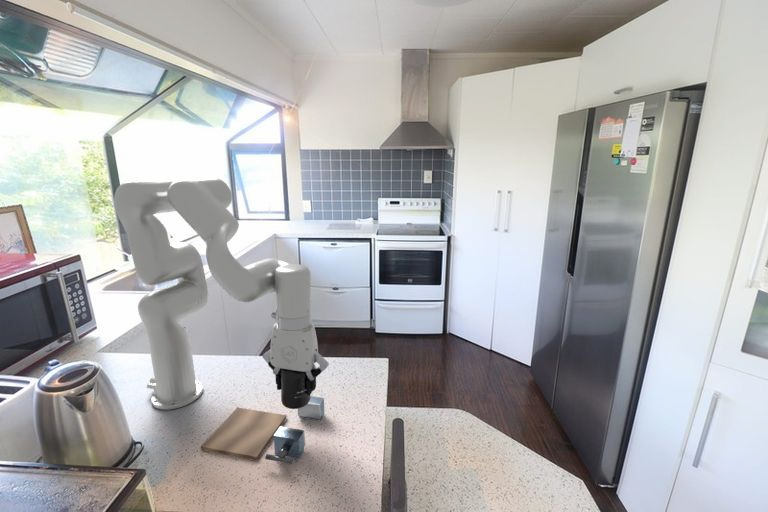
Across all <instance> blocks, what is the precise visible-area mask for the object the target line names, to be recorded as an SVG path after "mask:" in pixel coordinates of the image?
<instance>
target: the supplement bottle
mask: <svg viewBox="0 0 768 512" xmlns="http://www.w3.org/2000/svg"><path fill="white" fill-rule="evenodd" d="M307 379H308V376H307V374H306V372H301V371H294V370H288V369H281V390H280V397H281V399H280V400H281V404H282V406H284V407H285V408H287V409H288V410H289V409H291V410H298V409H299V408H302V407H304V406H306V405H307V404H308V403H309V401H310V398H311V394H312V393H311V394H310V395H307V387H306V381H307Z"/></svg>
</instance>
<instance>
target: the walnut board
mask: <svg viewBox="0 0 768 512" xmlns="http://www.w3.org/2000/svg"><path fill="white" fill-rule="evenodd" d="M286 420H287V415H286V414H280V413H275V412H270V411H269V412H268V411H263V410H256V409H251V408H245V407H236V408H235V409H234V410H233V412H232V413H230V415H229V416H228V417H227V418H226V419H225V420H224V421H223V422H222V423H221V425H219V426H218V427H217V429H216V430H215V431H214V432H213V433H212V434H211V435H210V436H209V438H207V439H206V441H205V442H203V444H202V445H201V446H200V450H201V451H205V452H208V453H209V452H210V453H214V454H220V455H225V456H231V457H234V458H241V459H246V460H252V461H255V462H257V461H258V460H259V458H260V457H261V455H262V454H263V453H264V451H265V450H266V449H267V447H268V446H269V444H270V443H271V441H272V440H273V439H274V434H275V433H276V431H277V430H278V429H279V427H280V426H281V427H283V426H282V425H284V422H285V421H286Z"/></svg>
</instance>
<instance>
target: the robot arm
mask: <svg viewBox="0 0 768 512" xmlns="http://www.w3.org/2000/svg"><path fill="white" fill-rule="evenodd" d="M232 200H233V195H232V191H231V189H230V187H229V186H228V184H227V183H226V182H225V181H224V180H223V179H221V178H219V177H215V176H203V177H202V176H200V177H199V176H198V177H196V176H195V177H191V176H190V177H187V176H184V177H183V176H178V177H177V176H176V177H144V178H143V177H142V178H136V179H130V180H127V181H125V182H122V183H121V184H120V185H119V186H118V187H117V188H116V190H115V193H114V197H113V204H114V209H115V212H116V215H117V217H118V219H119V221H120V223H121V225H122V227H123V230H124V231H125V233H126V236H127V239H128V244H129V248H130V252H131V257H132V260H133V261H132V262H133V265H134V269H135V272H136V276H137V278H138V280H139V281H140V282H141V283H142V284H143V285H145V286H151V287H152V286H158V285H159V286H160V285H162V284H165V283H169V282H172V281H175V280H177V282H176V283H172V284H170V285H167V286H165V287H161V288H159V289H156V290H153V291H149V293H147V294H146V295H144V296H143V297H141V299H140V300H139V302H138V304H137V305H138V306H137V311H138V315H139V318H140V320H141V322H142V325H143V327H144V330H145V334H146V338H147V342H148V348H149V353H150V359H151V365H152V371H153V376H152V377H150V379H149V382H148V383H147V385H146V388H147V389H150V390H151V389H153V392H154V393H153V395H152V396H151V399H150V400H151V404H152V406H153V407H154V408H155V409H157V410H162V411H163V410H166V411H167V410H173V409H174V410H175V409H179V408H183V407H185V406H188V405H190V404H192V403H193V402H194V401H196V400H197V399H198V398H199V397H200V396H201V395H202V393H203V391H204V387H203V386H204V385H203V384H202V382H201V381H199V380H196V375H195V365H194V359H193V352H192V345H191V338H190V333H189V331H188V330H187V328H185V327H184V326H183V325H182V324H181V323H180V321H181V320H183V319H185V318H186V317H188V316H189V317H190V316H191V315H193V314H195V313H197V312H200V311H201V310H203V309H204V308H205V307H207V304H208V303H209V289H208V283H207V278H206V274H205V269H204V263H203V260H202V256H201V255H200V253H199V251H198V250H197V248H196V247H195V246H194V245H193V244H192V243H189V242H186V241H179V242H178V241H176V242H172V243H170V239H169V236H168V231H167V228H166V227H165V225H164V224H163V222H161V220H160V219H158V217H156V216H155V214H161V213H171V212H173V213H174V212H177V213H178V214H179V215H180V217H182V219H183V220H184V222H186V223H187V224H188V226H190V227H191V229H192V230H193V231H194V232H195V233H196V234H197V235H198V236H199V237H200V238H201V240H203V242H204V243H205V246H206V247H205V257H206V262H207V266H208V269H209V272H210V274H211V276H212V277H213V279H214V280H215V282H216V283H217V284H219V286H221V288H222V289H223V290H224V291H225V292H226V293H227V294H228V295H229V296H230V297H231V298H233V299H234V300H236V301H237V302H241V303H251V302H254V301H256V300H258V299H261V298H263V297H265V296H267V295H269V294H273V293H275V311H272V313H271V315H270V316H271V318H273V319H275V323H274V324H273V326H272V331H271V337H270V345H269V347H270V349H269V350H267V351H266V352H264V353H263V355H262V359H264V361H265V362H266V363H267V366H268V367H269V368H270V369H271V370H272V373H273V374H274V375H275V384H276V390H277V391H281V369H288V370H294V371H301V372H306V374H307V376H308V379H307V381H306V387H307V395H310V394H312V393H313V392H314V391H315V390H316V388H317V377H318V376H319V375H321V374H322V373H323V372H324V371H325V370H326V369H327V368H328V366H330V364H329V362H328V361H327V359H326V358H325V357H324V356H323V355H321V354H320V353H319V348H318V338H317V334H316V329H315V324H314V323H312V291H311V289H312V288H311V286H312V285H311V283H312V282H311V280H312V279H311V270H310V269H309V268H308V267H307V266H306V265H304V264H299V263H290V262H286V261H284V260H281V259H279V258H276V257H268V258H264V259H261V260H259V261H255V262H253V263H250V264H247V265H244V266H243V265H242V264H241V263H240V262H239V261H238V260H237V259H236V258H235V257H234V256H233V254H232V253H231V251H230V250H229V246H228V243H229V242H230V241H231V239H233V237H234V236H236V233H237V231H238V229H239V225H240V224H239V221H238V220H237V218H236V216H234V215H233V214H232V213H231V212H230V211H229V209H228V207H229V206H231V204H232ZM316 363H317V364H318V367H316Z"/></svg>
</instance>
